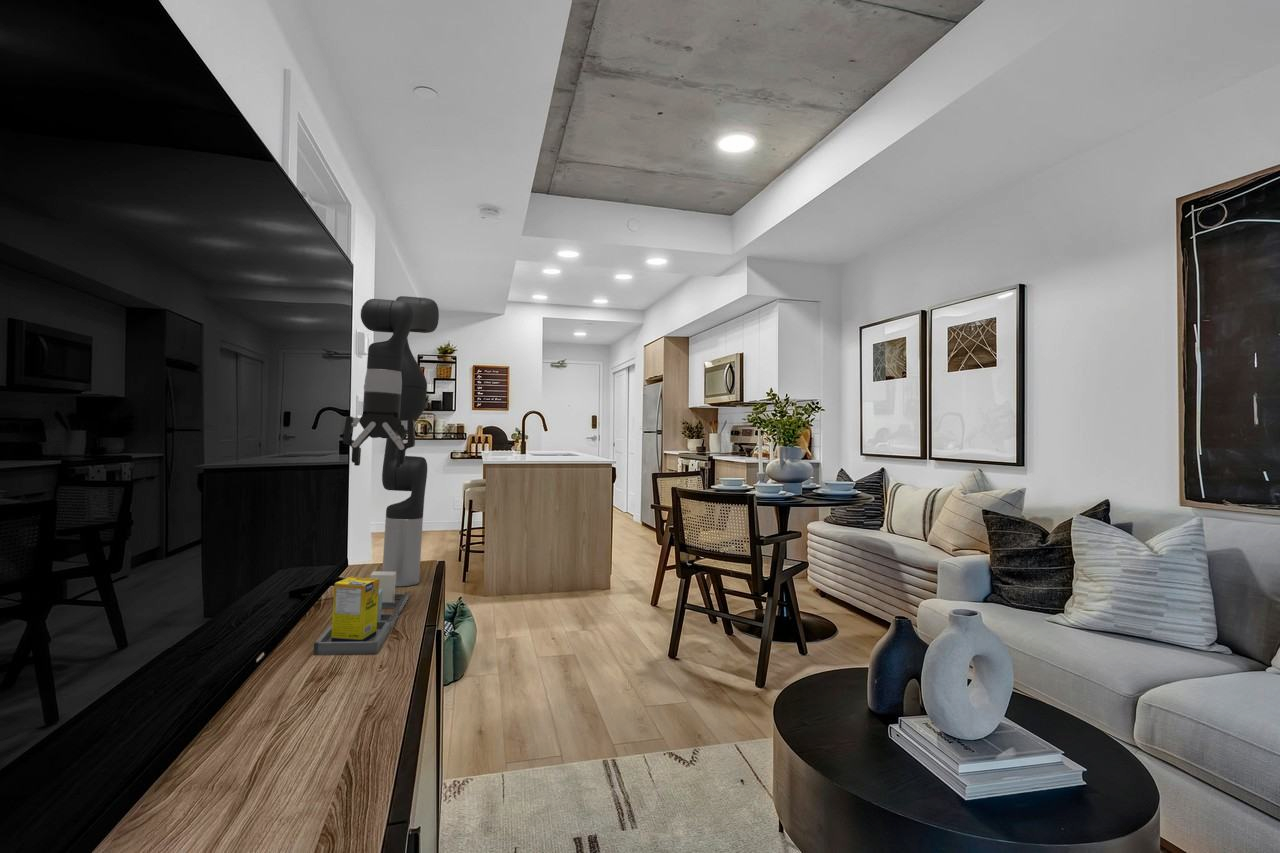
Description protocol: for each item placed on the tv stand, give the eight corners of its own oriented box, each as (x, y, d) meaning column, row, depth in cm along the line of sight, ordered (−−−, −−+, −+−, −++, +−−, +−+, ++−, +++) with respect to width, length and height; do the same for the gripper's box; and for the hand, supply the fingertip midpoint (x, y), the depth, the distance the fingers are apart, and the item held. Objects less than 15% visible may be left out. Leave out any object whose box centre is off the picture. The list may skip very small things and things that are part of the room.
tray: (333, 631, 125) (334, 621, 125) (389, 630, 127) (390, 620, 127) (313, 654, 112) (314, 643, 112) (376, 653, 114) (377, 642, 114)
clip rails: (360, 599, 149) (361, 592, 150) (408, 599, 152) (408, 592, 152) (332, 631, 125) (333, 623, 125) (389, 631, 127) (390, 623, 127)
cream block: (371, 601, 148) (373, 571, 148) (394, 601, 149) (396, 571, 149) (368, 606, 144) (370, 575, 144) (391, 606, 145) (393, 575, 145)
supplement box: (376, 634, 123) (380, 577, 123) (361, 644, 117) (365, 584, 117) (346, 632, 123) (350, 575, 123) (330, 642, 117) (334, 582, 117)
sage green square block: (355, 623, 131) (357, 588, 132) (380, 622, 132) (382, 589, 133) (350, 628, 128) (352, 593, 128) (376, 628, 129) (379, 593, 129)
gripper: (419, 394, 143) (414, 466, 143) (351, 390, 140) (346, 463, 140) (415, 392, 136) (410, 468, 136) (343, 388, 133) (338, 465, 133)
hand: (378, 466), depth 138 cm, fingers open, 8 cm apart
